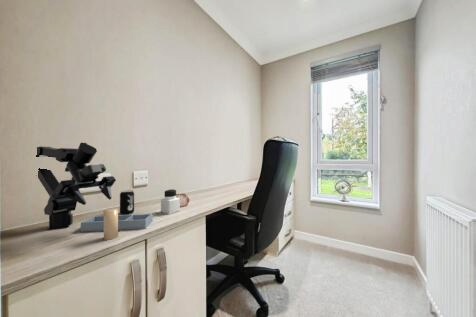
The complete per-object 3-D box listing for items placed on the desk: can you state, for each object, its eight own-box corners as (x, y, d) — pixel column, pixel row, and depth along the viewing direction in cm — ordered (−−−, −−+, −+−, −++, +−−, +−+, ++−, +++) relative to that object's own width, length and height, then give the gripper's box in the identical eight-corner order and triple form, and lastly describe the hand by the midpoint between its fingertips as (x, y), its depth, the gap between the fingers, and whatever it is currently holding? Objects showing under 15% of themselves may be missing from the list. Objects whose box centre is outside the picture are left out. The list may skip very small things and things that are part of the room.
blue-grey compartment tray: (80, 231, 75) (80, 222, 75) (94, 224, 83) (94, 216, 83) (145, 228, 78) (145, 219, 78) (152, 221, 86) (152, 213, 86)
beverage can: (123, 215, 95) (123, 192, 96) (117, 213, 99) (117, 191, 99) (136, 212, 101) (136, 190, 101) (130, 210, 105) (130, 189, 105)
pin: (102, 240, 66) (102, 212, 66) (104, 236, 70) (104, 209, 70) (117, 238, 68) (117, 210, 68) (118, 234, 72) (118, 208, 72)
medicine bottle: (180, 211, 103) (180, 189, 103) (169, 214, 97) (169, 191, 97) (171, 209, 107) (171, 188, 107) (160, 212, 101) (160, 190, 101)
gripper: (59, 157, 65) (79, 191, 61) (112, 157, 82) (131, 183, 78) (46, 179, 67) (65, 213, 63) (100, 175, 85) (118, 201, 81)
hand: (98, 201), depth 71 cm, fingers open, 9 cm apart
